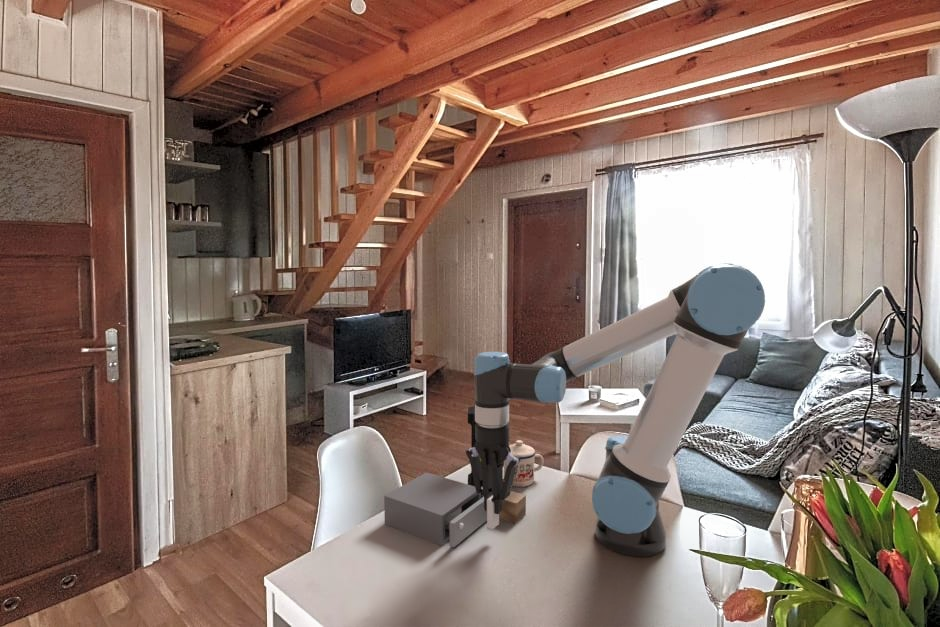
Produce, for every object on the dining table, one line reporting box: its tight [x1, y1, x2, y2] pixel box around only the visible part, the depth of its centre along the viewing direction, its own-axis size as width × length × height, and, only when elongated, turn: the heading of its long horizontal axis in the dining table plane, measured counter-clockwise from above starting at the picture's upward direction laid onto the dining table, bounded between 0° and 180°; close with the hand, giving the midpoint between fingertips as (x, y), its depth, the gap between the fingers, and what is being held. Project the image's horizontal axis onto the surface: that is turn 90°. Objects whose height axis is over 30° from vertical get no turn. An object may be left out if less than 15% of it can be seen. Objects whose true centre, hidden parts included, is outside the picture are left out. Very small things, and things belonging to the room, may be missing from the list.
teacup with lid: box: [503, 440, 545, 488], centre depth 143 cm, size 12×9×12 cm
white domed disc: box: [445, 506, 462, 525], centre depth 119 cm, size 8×8×3 cm
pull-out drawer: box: [445, 496, 487, 548], centre depth 119 cm, size 18×16×5 cm
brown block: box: [499, 490, 527, 524], centre depth 123 cm, size 5×5×5 cm
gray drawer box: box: [383, 472, 482, 547], centre depth 121 cm, size 17×16×7 cm
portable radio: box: [467, 403, 483, 496], centre depth 135 cm, size 8×6×25 cm
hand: (493, 525), depth 112 cm, fingers closed
